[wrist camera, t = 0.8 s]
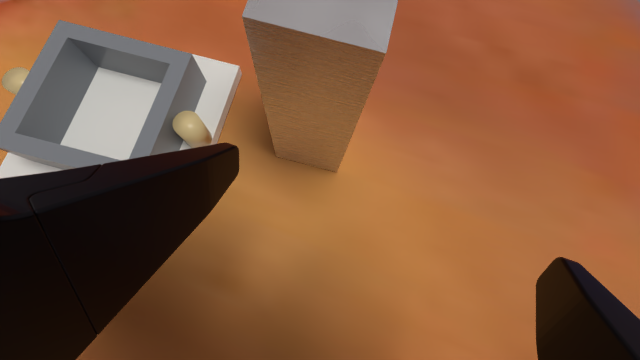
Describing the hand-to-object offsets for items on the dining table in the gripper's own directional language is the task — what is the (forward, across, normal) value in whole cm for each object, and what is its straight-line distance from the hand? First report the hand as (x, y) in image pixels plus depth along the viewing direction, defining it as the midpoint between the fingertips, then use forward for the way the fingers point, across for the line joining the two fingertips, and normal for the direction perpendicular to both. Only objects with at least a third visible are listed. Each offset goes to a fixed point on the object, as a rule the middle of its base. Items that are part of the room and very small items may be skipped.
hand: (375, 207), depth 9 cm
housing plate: (+7, +18, +6) cm, 20 cm away
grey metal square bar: (+12, +6, +5) cm, 14 cm away
